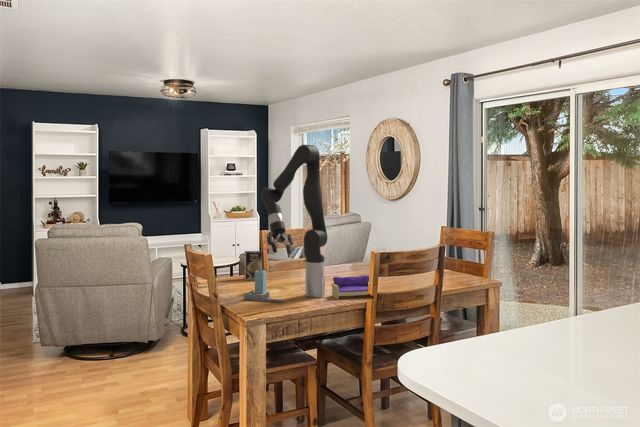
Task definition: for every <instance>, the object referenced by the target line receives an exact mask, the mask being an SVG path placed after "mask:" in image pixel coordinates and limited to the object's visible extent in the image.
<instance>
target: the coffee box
mask: <svg viewBox="0 0 640 427" xmlns="http://www.w3.org/2000/svg"><path fill="white" fill-rule="evenodd" d="M262 253H263V252H262V251H261V250H245V251H244V272H243V273H244V275H243V276H244V277H243V278H244V280H245V282H246V281H247V280H250V281H255V271H257V270H263V269H262V264H263V263H262V262H263V261H262V258H263V255H262Z"/></svg>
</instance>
